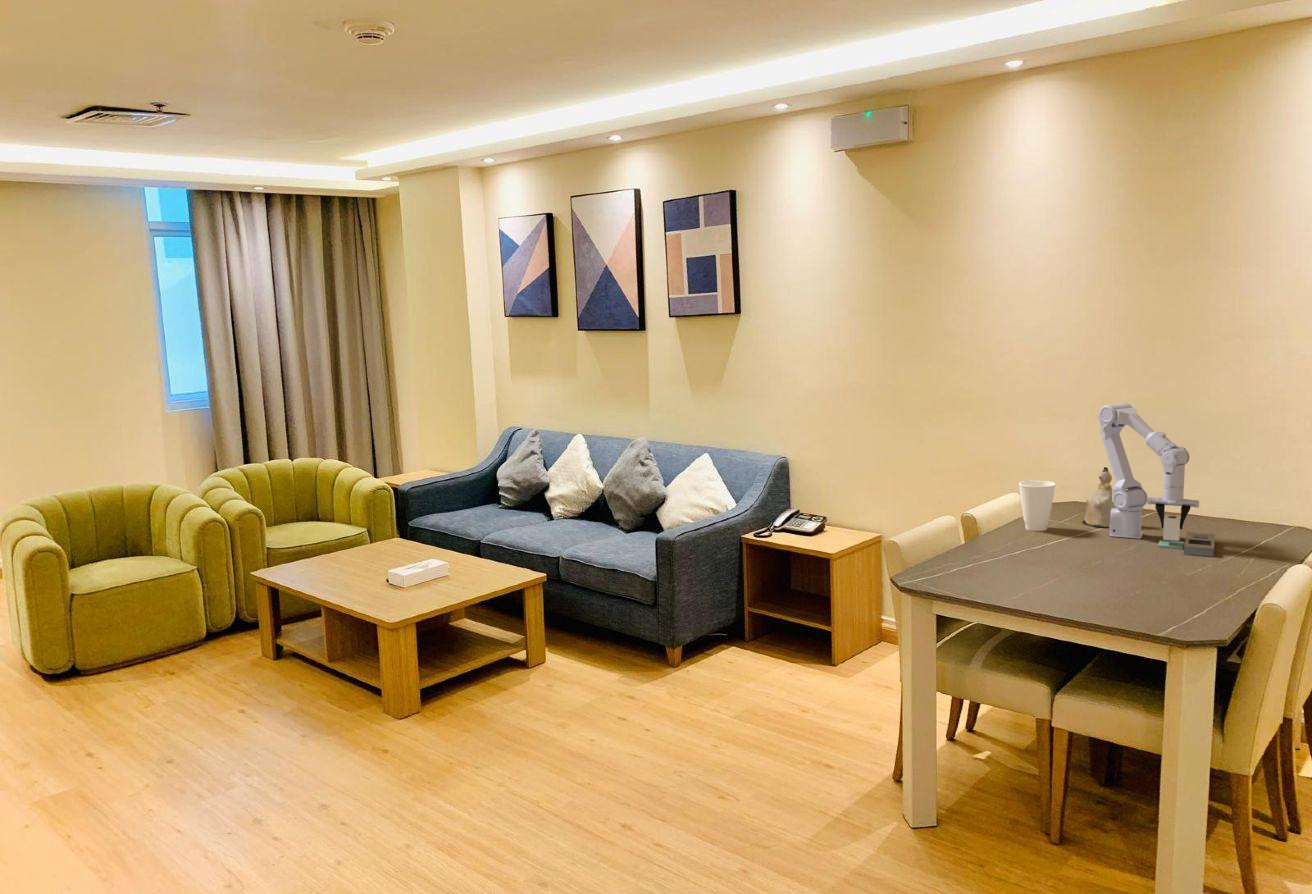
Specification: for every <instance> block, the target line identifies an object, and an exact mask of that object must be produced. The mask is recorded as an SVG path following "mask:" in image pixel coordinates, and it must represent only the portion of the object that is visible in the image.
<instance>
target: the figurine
mask: <svg viewBox="0 0 1312 894" xmlns="http://www.w3.org/2000/svg"><path fill="white" fill-rule="evenodd" d="M1098 479H1099V481H1100V483H1098V489H1097V491H1095V493H1093V494H1092V495H1090V496H1089V497H1087V499H1086V502H1085V504H1086V508H1085V516H1084V519H1083V521H1082V523H1081V524H1083V525H1085V526H1088V527H1089V526H1090V527H1092V528H1095V529H1110V516H1111V509H1112V508H1117V507H1116V506H1115V505H1114V503H1113V492H1112V489H1113V487H1112V485H1111V484H1110V483H1111V482H1112V480H1113V477H1112V475H1111V473H1110V471H1109V468H1108V467H1107V466H1104V467H1103V470H1102V471H1101V473H1100V475H1099V476H1098Z"/></svg>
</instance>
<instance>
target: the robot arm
mask: <svg viewBox="0 0 1312 894" xmlns="http://www.w3.org/2000/svg"><path fill="white" fill-rule="evenodd" d="M1097 418H1098V421H1099V424H1100V425H1099V426H1100V427H1099V431H1100V436H1101V439H1102V440H1101V441H1102V442H1103V446H1104V448H1105V452H1106V455H1107V458H1108V462H1109V464H1110V468H1111V470H1112V475H1113V477H1114V481H1115V484H1114V486H1113V487H1112V501H1113V503H1114V505H1115V507H1116V508H1112V509H1111V516H1110V528H1109V536H1110V537H1113V538H1114V537H1116V538H1130V539H1142V538H1143V535H1144V532H1143V531H1142V513H1143V512H1142V511H1143V510H1144V506H1146V505H1148V506H1149V505H1150V506H1151V505H1155V510H1156V513H1157V515H1158V517H1159V521H1160V525H1161V529H1164V516H1165V507H1166V506H1171V507H1172V506H1175V507H1180V516H1181V521H1180V530H1183V528H1184V523H1185V520H1186V518H1187V516H1188V514H1189V512H1190V510H1191V508H1197V509H1199V508H1200V500H1198V499H1197V500H1196V499H1195V500H1194V499H1189V498H1188V499H1186V498H1184V496H1185V495H1184V494H1185V493H1184V491H1185V472H1186V471H1185V469H1186V465H1187V464H1188V463H1189V461H1190V453H1189V451H1188V450H1187V449H1186V448H1185V447H1183V446H1178V445H1177V444H1176V443H1175V442H1173V441H1172V440H1171V439H1169V438H1168V437H1167V435H1166V433H1164V432H1161V431H1155V430H1154V429H1153V428H1152V427H1151V426H1150V425H1149V424H1148V423H1147V422H1146V421H1145V420H1144V419H1143V418H1142V417H1141V416H1140V415H1139V414H1138V412H1137V409H1136V408H1135V407H1133V406H1132V404H1130V403H1128V402H1122V403H1117V404H1105V405H1102V407H1101V408H1100V410H1099V411H1098V413H1097ZM1126 426H1128V427H1130V428H1131V429H1132V430H1134V431H1135V432H1136V433H1138V434H1139V435H1140V436H1141V437H1142V438H1144V439H1145V443H1146V446H1148V448H1150V449H1151V451H1153V452H1155V454H1157V455H1158V456H1159V459H1160V460H1159V461H1160V463H1161V464H1162V468H1163V469H1162V470H1163V489H1162V491H1163V493H1162V497H1149V496H1148V493H1147V491H1146V490H1145V489H1144V488H1143V486H1142V483H1140V482H1139V481H1138V480H1137V479H1135V478H1134V474H1133V471H1132V468H1131V466H1130V463H1129V459H1128V457H1127V453H1126V450H1125V447H1124V444H1123V441H1122V438H1121V435H1120V434H1121V431H1122V430H1123V429H1124V428H1125V427H1126Z"/></svg>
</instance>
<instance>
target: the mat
mask: <svg viewBox="0 0 1312 894" xmlns="http://www.w3.org/2000/svg"><path fill="white" fill-rule="evenodd" d="M1158 541H1159V542H1158V544H1157V547H1158V548H1167V549H1176V550H1184V545H1185V541H1175V540H1162V539H1161V540H1160V539H1159V540H1158Z"/></svg>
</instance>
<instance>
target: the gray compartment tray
mask: <svg viewBox="0 0 1312 894" xmlns="http://www.w3.org/2000/svg"><path fill="white" fill-rule="evenodd" d="M1215 545H1216V533H1215V534H1214V533H1205V532H1191V531H1187V532H1186V536H1185V540H1184V547H1183V555H1188V556H1200V557H1210V558H1211V557H1212V558H1215V557H1214V556H1215Z"/></svg>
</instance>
